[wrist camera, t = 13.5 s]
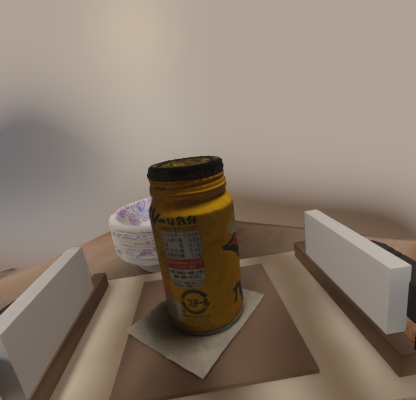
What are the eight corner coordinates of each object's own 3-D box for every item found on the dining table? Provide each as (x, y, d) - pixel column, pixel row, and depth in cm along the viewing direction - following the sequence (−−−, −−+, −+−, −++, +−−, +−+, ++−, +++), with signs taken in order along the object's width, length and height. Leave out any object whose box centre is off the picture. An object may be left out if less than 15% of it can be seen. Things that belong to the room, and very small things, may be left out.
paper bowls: (190, 299, 27) (178, 231, 25) (97, 276, 35) (82, 222, 33) (241, 239, 40) (236, 190, 38) (165, 231, 47) (157, 190, 45)
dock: (-10, 517, 13) (-46, 455, 12) (99, 306, 28) (88, 270, 27) (448, 431, 14) (459, 365, 12) (310, 272, 29) (309, 236, 28)
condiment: (264, 296, 21) (252, 150, 18) (203, 381, 15) (166, 177, 11) (196, 275, 25) (176, 155, 22) (126, 334, 19) (84, 177, 16)
